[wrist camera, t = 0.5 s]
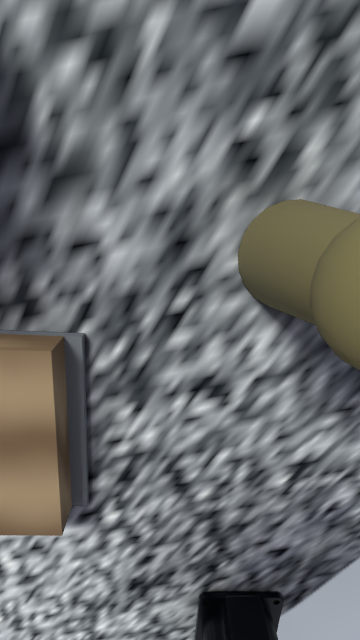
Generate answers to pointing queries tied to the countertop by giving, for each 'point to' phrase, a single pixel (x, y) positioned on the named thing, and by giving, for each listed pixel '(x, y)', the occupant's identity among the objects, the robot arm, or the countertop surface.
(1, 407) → the tan wooden plank
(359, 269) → the olive brown pear
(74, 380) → the mat
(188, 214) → the countertop surface
